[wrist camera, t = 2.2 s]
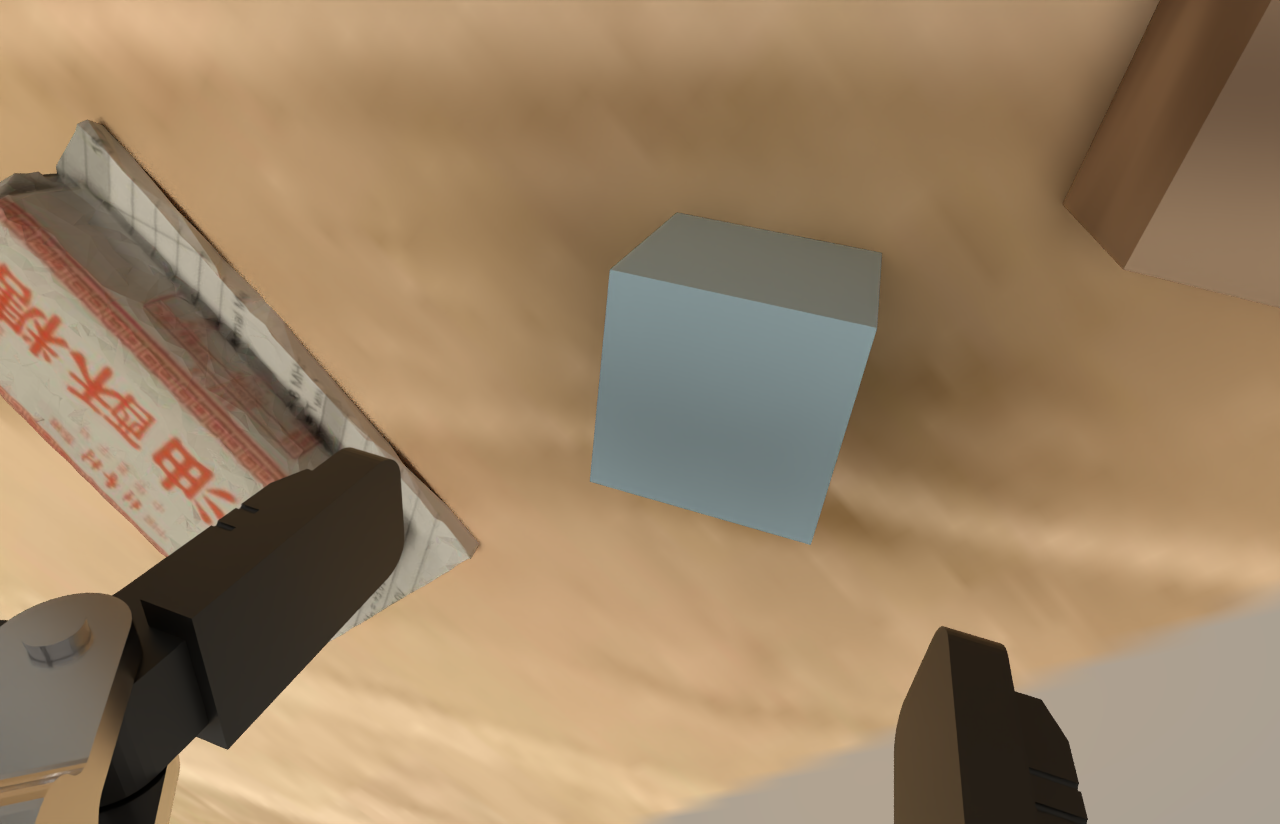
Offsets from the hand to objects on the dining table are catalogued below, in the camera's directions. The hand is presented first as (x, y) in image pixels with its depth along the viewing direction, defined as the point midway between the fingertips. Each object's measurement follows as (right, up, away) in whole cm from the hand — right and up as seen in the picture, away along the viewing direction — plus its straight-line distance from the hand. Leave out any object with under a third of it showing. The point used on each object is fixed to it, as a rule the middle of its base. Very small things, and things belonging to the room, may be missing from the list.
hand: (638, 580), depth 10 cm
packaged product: (-14, +3, +16) cm, 22 cm away
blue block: (+3, +5, +8) cm, 10 cm away
